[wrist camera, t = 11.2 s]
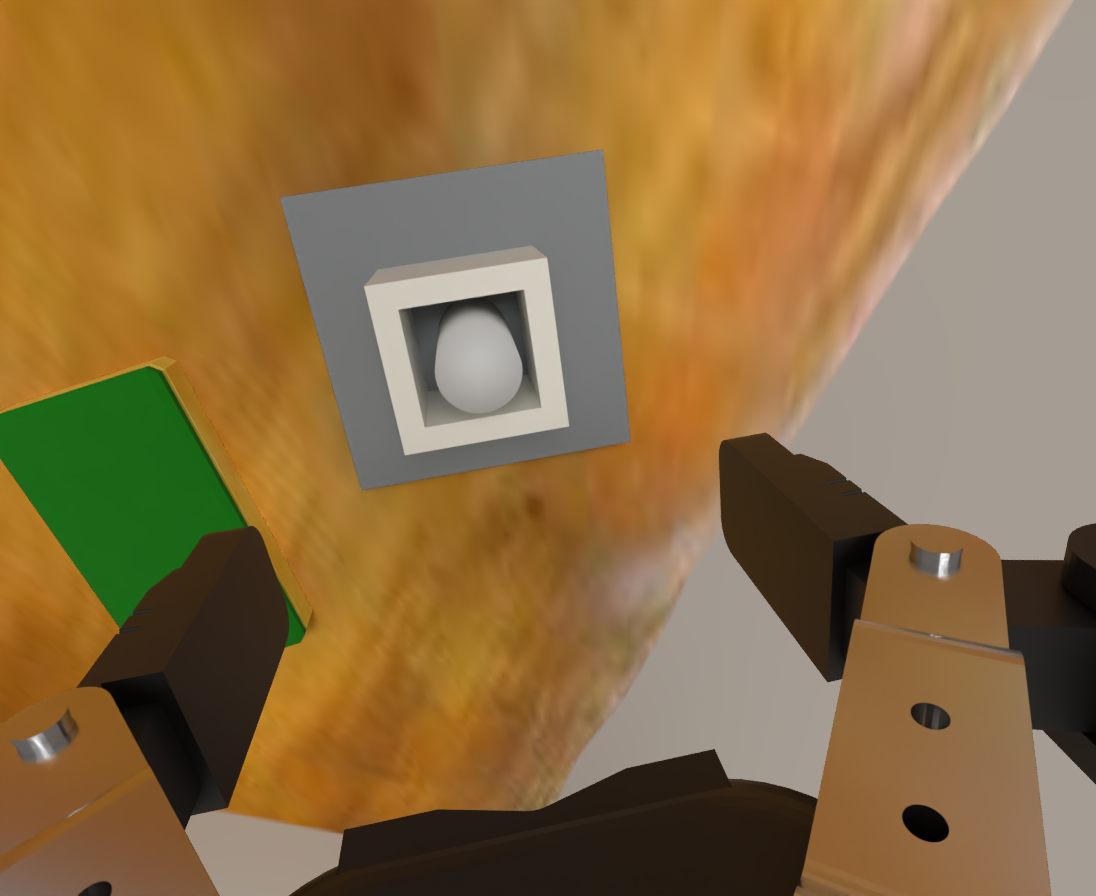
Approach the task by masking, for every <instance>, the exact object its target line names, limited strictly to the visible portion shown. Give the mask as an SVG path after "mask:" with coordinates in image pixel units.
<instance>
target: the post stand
mask: <svg viewBox="0 0 1096 896" xmlns="http://www.w3.org/2000/svg"><path fill="white" fill-rule="evenodd" d="M280 201H281V204H282V208H283V211H284V215H285V219H286V222H287V226H288V229H289V233H290V236H291V240H292V244H293V247H294V251H295V254H296V258H297V261H298V265H299V269H300V272H301V276H302V279H303V283H304V286H305V290H306V294H307V297H308V301H309V304H310V308H311V312H312V315H313V319H314V322H315V326H316V329H317V333H318V337H319V340H320V344H321V347H322V351H323V354H324V358H325V362H326V365H327V369H328V372H329V376H330V379H331V383H332V387H333V390H334V394H335V397H336V401H337V404H338V408H339V412H340V415H341V419H342V422H343V426H344V429H345V433H346V437H347V440H348V444H349V447H350V451H351V455H352V458H353V462H354V465H355V469H356V472H357V476H358V480H359V483H360V487H361V490H367V489H373V488H378V487H384V486H389V485H395V484H400V483H406V482H411V481H417V480H422V479H428V478H433V477H439V476H444V475H450V474H456V473H461V472H467V471H472V470H478V469H483V468H489V467H494V466H500V465H505V464H511V463H516V462H522V461H527V460H533V459H538V458H544V457H549V456H555V455H560V454H566V453H571V452H577V451H582V450H588V449H593V448H599V447H604V446H610V445H615V444H621V443H626V442H630V431H629V421H628V410H627V400H626V389H625V378H624V368H623V357H622V347H621V336H620V326H619V315H618V304H617V294H616V283H615V273H614V262H613V252H612V241H611V230H610V220H609V209H608V199H607V188H606V177H605V167H604V156H603V150H596V151H590V152H583V153H576V154H569V155H563V156H556V157H549V158H542V159H536V160H529V161H522V162H515V163H509V164H502V165H495V166H488V167H482V168H475V169H468V170H461V171H455V172H448V173H441V174H434V175H428V176H421V177H414V178H407V179H401V180H394V181H387V182H380V183H374V184H367V185H360V186H353V187H347V188H340V189H333V190H326V191H320V192H313V193H306V194H299V195H293V196H286V197H280ZM526 246H533V247H535V248H536V249H537V250H538V251H540V252H541V253H542V254H543V255H545V256H546V257H547V261H548V268H549V276H550V283H551V291H552V299H553V306H554V314H555V321H556V329H557V337H558V344H559V352H560V360H561V367H562V375H563V382H564V390H565V398H566V405H567V413H568V421H569V427H563V428H558V429H552V430H546V431H541V432H535V433H529V434H524V435H518V436H512V437H507V438H501V439H495V440H490V441H484V442H478V443H473V444H467V445H461V446H456V447H450V448H444V449H439V450H433V451H427V452H422V453H416V454H410V455H405V454H404V450H403V446H402V442H401V437H400V433H399V429H398V425H397V421H396V417H395V413H394V409H393V404H392V400H391V396H390V392H389V388H388V384H387V380H386V376H385V371H384V367H383V363H382V359H381V355H380V351H379V347H378V343H377V338H376V334H375V330H374V326H373V322H372V318H371V314H370V310H369V305H368V301H367V297H366V293H365V289H364V286H365V284H366V283H367V282H368V281H369V280H370V279H371V277H372V276H373V275H374V274H375V273H376V271H377V270H378V269H384V268H391V267H397V266H403V265H410V264H416V263H423V262H429V261H436V260H442V259H448V258H455V257H461V256H468V255H474V254H481V253H487V252H493V251H500V250H506V249H513V248H519V247H526ZM411 312H412V316H413V321H414V325H415V330H416V335H417V339H418V344H419V348H420V353H421V358H422V362H423V367H424V371H425V376H426V381H427V385H428V390H429V391H433V390H438V389H439V390H440V392H441V394H442V395H443V396H444V398H445V399H446V400H447V401H448V402H449V403H450V404H452V405H453V406H455V407H456V408H458V409H460V410H463V411H465V412H469V413H488V412H492V411H495V410H497V409H499V408H501V407H503V406H504V405H506V404H507V403H508V402H509V401H510V400H511V399H512V398H513V397H514V396H515V394H516V393H517V391H518V389H519V387H520V384H521V380H522V375H527V374H528V368H527V362H526V355H525V348H524V342H523V335H522V329H521V322H520V316H519V309H518V303H517V296H516V291H512V292H506V293H499V294H493V295H487V296H481V297H474V298H468V299H462V300H456V301H449V302H443V303H437V304H431V305H424V306H418V307H412V308H411Z"/></svg>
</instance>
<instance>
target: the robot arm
mask: <svg viewBox="0 0 1096 896" xmlns="http://www.w3.org/2000/svg"><path fill="white" fill-rule="evenodd" d="M719 471H720V499H721V522H722V529H723V533H724V537H725V540H726V543H727V545H728V548H729V550H730V552H731V553H732V555H733V556H734V558H735V559H736V560H737V562H738V563H739V564H740V566H741V567H742V568H743V570H744V571H745V572H746V574H747V575H748V576H749V578H750V579H751V580H752V582H753V583H754V584H755V586H756V587H757V588H758V590H759V591H760V592H761V594H762V595H763V596H764V598H765V599H766V600H767V602H768V603H769V604H770V606H771V607H772V609H773V610H774V611H775V612H776V614H777V615H778V616H779V618H780V619H781V621H782V622H783V623H784V625H785V626H786V627H787V628H788V630H789V631H790V633H791V634H792V635H793V637H794V638H795V639H796V641H797V642H798V643H799V645H800V646H801V647H802V649H803V650H804V651H805V653H806V654H807V655H808V657H809V658H810V659H811V661H812V662H813V663H814V665H815V666H816V667H817V669H818V670H819V671H820V673H821V674H822V676H823V677H824V678H825V679H826V681H827V682H831V681H835V680H839V679H842V683H841V688H840V693H839V698H838V703H837V707H836V712H835V717H834V722H833V727H832V732H831V738H830V742H829V747H828V752H827V756H826V761H825V767H824V771H823V776H822V781H821V786H820V791H819V796H818V799H816V798H814V797H812V796H809V795H807V794H804V793H801V792H798V791H795V790H792V789H789V788H786V787H782V786H777V785H773V784H769V783H765V782H757V781H750V780H742V779H728V778H727V775H726V773H725V771H724V769H723V767H722V765H721V762H720V760H719V758H718V756H717V754H716V752H715V749H713V750H708V751H704V752H700V753H695V754H690V755H686V756H681V757H677V758H672V759H668V760H663V761H658V762H654V763H649V764H644V765H640V766H635V767H631V768H626V769H624V770H622V771H620V772H618V773H616V774H614V775H611V776H610V777H608V778H605V779H603V780H601V781H599V782H597V783H595V784H593V785H591V786H589V787H587V788H584V789H582V790H580V791H578V792H576V793H574V794H572V795H570V796H568V797H565V798H563V799H561V800H559V801H557V802H555V803H553V804H551V805H549V806H547V807H544V808H542V809H539V810H534V811H487V810H433V811H429V812H424V813H420V814H415V815H410V816H406V817H401V818H397V819H392V820H388V821H383V822H378V823H374V824H369V825H365V826H360V827H355V828H351V829H346V830H344V834H343V840H342V846H341V852H340V859H339V865H338V866H337V867H335V868H333V869H331V870H329V871H327V872H325V873H323V874H321V875H320V876H318V877H316V878H315V879H313V880H311V881H310V882H308V883H306V884H305V885H303V886H302V887H300V888H299V889H297V890H296V891H295V892H293V893H292V894H291V895H289V896H1051V888H1050V879H1049V870H1048V861H1047V853H1046V844H1045V836H1044V827H1043V818H1042V810H1041V801H1040V793H1039V784H1038V775H1037V767H1036V758H1035V749H1034V741H1033V732H1032V729H1037V730H1043V731H1044V732H1045V733H1046V734H1047V735H1048V736H1049V737H1050V738H1051V739H1052V740H1053V741H1054V742H1055V743H1056V744H1057V745H1058V746H1059V747H1060V748H1061V749H1062V750H1063V751H1064V753H1066V755H1067V756H1068V757H1069V758H1070V759H1071V760H1072V761H1073V762H1074V763H1075V764H1076V765H1077V766H1078V767H1079V768H1080V769H1081V770H1082V771H1083V772H1084V773H1085V774H1086V775H1087V776H1088V777H1089V778H1090V779H1091V780H1092V781H1093V782H1094V783H1095V784H1096V524H1090V525H1086V526H1082V527H1080V528H1077V529H1076V530H1074V531H1073V532H1072V533H1071V534H1070V535H1069V539H1068V542H1067V547H1066V552H1065V557H1064V560H1001V559H1000V556H999V554H998V553H997V551H996V550H995V549H994V548H993V547H992V546H991V545H989V544H988V543H987V542H985V541H983V540H982V539H980V538H978V537H977V536H974V535H972V534H970V533H967V532H964V531H961V530H958V529H954V528H950V527H945V526H939V525H930V524H911V525H908V524H907V523H905V522H904V521H903V520H901V519H900V518H899V517H897V516H896V515H895V514H893V513H892V512H891V511H890V510H888V509H887V508H886V507H884V506H883V505H882V504H880V503H879V502H878V501H876V500H875V499H874V498H872V497H871V496H870V495H868V494H867V493H866V492H864V493H862V491H861V488H859V487H858V486H857V485H855V484H854V483H852V482H851V481H850V480H849V481H847V480H846V477H845V476H843V475H842V474H841V473H839V472H838V471H837V470H835V469H834V468H833V467H832V466H830V465H829V464H827V463H825V462H822V461H819V460H816V459H813V458H811V457H808V456H805V455H803V454H797V455H793V454H792V453H791V452H790V451H788V450H787V449H786V448H785V447H783V446H782V445H781V444H780V443H779V442H777V441H776V440H775V439H774V438H772V437H771V436H770V435H768V434H767V433H761V434H755V435H750V436H744V437H739V438H733V439H728V440H723V441H722V443H721V445H720V449H719ZM119 631H120V634H117V635H115V636H114V638H113V639H112V640H111V642H110V643H109V644H108V646H107V647H106V648H105V650H104V651H103V653H102V654H101V655H100V657H99V658H98V659H97V661H96V662H95V663H94V665H93V666H92V667H91V669H90V670H89V672H88V673H87V674H86V676H85V677H84V678H83V680H82V681H81V682H80V684H79V685H78V687H77V688H75V689H71V690H67V691H64V692H60V693H57V694H55V695H52V696H50V697H47V698H45V699H43V700H41V701H39V702H36V703H34V704H33V705H31V706H29V707H27V708H25V709H24V710H22V711H20V712H19V713H17V714H16V715H14V716H13V717H11V718H10V719H8V720H7V721H6V722H4V723H3V724H2V725H0V896H220V895H219V894H218V892H217V890H216V888H215V886H214V885H213V883H212V881H211V879H210V877H209V875H208V873H207V872H206V870H205V868H204V866H203V864H202V862H201V860H200V858H199V856H198V855H197V853H196V851H195V849H194V847H193V845H192V844H191V842H190V840H189V838H188V836H187V834H186V832H185V829H186V826H187V824H188V821H189V819H190V816H191V815H196V814H200V813H205V812H210V811H215V810H219V809H224V808H228V806H229V803H230V800H231V797H232V794H233V791H234V789H235V786H236V783H237V780H238V777H239V775H240V772H241V769H242V766H243V763H244V761H245V758H246V755H247V752H248V749H249V746H250V744H251V741H252V738H253V735H254V732H255V730H256V727H257V724H258V721H259V718H260V716H261V713H262V710H263V707H264V704H265V701H266V699H267V696H268V693H269V690H270V687H271V685H272V682H273V679H274V676H275V673H276V671H277V668H278V665H279V662H280V659H281V656H282V654H283V651H284V648H285V645H286V642H287V639H288V634H289V615H288V609H287V604H286V601H285V598H284V595H283V593H282V590H281V587H280V584H279V582H278V579H277V576H276V573H275V570H274V568H273V565H272V562H271V559H270V557H269V554H268V551H267V548H266V545H265V543H264V540H263V537H262V535H261V533H260V532H259V530H258V529H257V528H256V527H254V526H247V527H242V528H237V529H231V530H226V531H220V532H215V533H209V534H205V535H204V536H203V537H202V538H201V539H200V541H199V542H198V543H197V545H196V546H195V548H194V549H193V551H192V552H191V554H190V555H189V556H188V558H187V559H186V561H185V562H184V564H183V565H182V566H181V568H179V569H175V570H173V571H172V572H171V573H170V574H168V575H167V576H166V577H165V578H163V579H162V580H161V581H159V582H158V583H157V584H156V585H154V586H153V587H152V588H150V589H149V590H148V591H147V593H146V594H145V595H144V597H143V598H142V600H141V601H140V602H139V604H138V605H137V606H136V608H135V609H134V610H133V616H129V617H128V619H127V620H126V621H125V623H124V624H123V625H122V627H121V628H120V629H119Z"/></svg>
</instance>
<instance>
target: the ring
mask: <svg viewBox="0 0 1096 896" xmlns="http://www.w3.org/2000/svg"><path fill="white" fill-rule="evenodd" d="M364 289H365V293H366V297H367V301H368V305H369V310H370V314H371V318H372V322H373V326H374V330H375V334H376V338H377V343H378V347H379V351H380V355H381V359H382V363H383V367H384V371H385V376H386V380H387V384H388V388H389V392H390V396H391V400H392V404H393V409H394V413H395V417H396V421H397V425H398V429H399V433H400V437H401V442H402V446H403V450H404V454H405V455H410V454H416V453H422V452H427V451H433V450H439V449H444V448H450V447H456V446H461V445H467V444H473V443H478V442H484V441H490V440H495V439H501V438H507V437H512V436H518V435H524V434H529V433H535V432H541V431H546V430H552V429H558V428H563V427H569V421H568V413H567V405H566V398H565V390H564V382H563V375H562V367H561V360H560V352H559V344H558V337H557V329H556V321H555V314H554V306H553V299H552V291H551V283H550V276H549V268H548V261H547V257H546V256H545V255H543V254H542V253H541V252H540V251H538V250H537V249H536V248H535V247H533V246H526V247H519V248H513V249H506V250H500V251H493V252H487V253H481V254H474V255H468V256H461V257H455V258H448V259H442V260H436V261H429V262H423V263H416V264H410V265H403V266H397V267H391V268H384V269H378V270H377V271H376V273H375V274H374V275H373V276H372V277H371V279H370V280H369V281H368V282H367V283H366V284H365V286H364ZM512 291H516V296H517V303H518V309H519V316H520V322H521V329H522V335H523V342H524V348H525V355H526V362H527V368H528V374H527V375H522V380H521V384H520V387H519V389H518V391H517V393H516V394H515V396H514V397H513V398H512V399H511V400H510V401H509V402H508V403H507V404H506V405H504V406H503V407H501V408H499V409H497V410H495V411H492V412H488V413H469V412H465V411H463V410H460V409H458V408H456V407H455V406H453V405H452V404H450V403H449V402H448V401H447V400H446V399H445V398H444V396H443V395H442V394H441V392H440V390H439V389H438V390H433V391H429V390H428V385H427V381H426V376H425V371H424V367H423V362H422V358H421V353H420V348H419V344H418V339H417V335H416V330H415V325H414V321H413V316H412V312H411V308H412V307H418V306H424V305H431V304H437V303H443V302H449V301H456V300H462V299H468V298H474V297H481V296H487V295H493V294H499V293H506V292H512Z"/></svg>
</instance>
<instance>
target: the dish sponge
mask: <svg viewBox="0 0 1096 896" xmlns="http://www.w3.org/2000/svg"><path fill="white" fill-rule="evenodd" d="M0 459H1V460H2V462H3V463H4V465H5V466H6V467H7V469H8V470H9V472H10V473H11V475H12V476H13V477H14V479H15V480H16V482H17V483H18V484H19V486H20V487H21V489H22V490H23V492H24V493H25V494H26V496H27V497H28V499H29V500H30V501H31V503H32V504H33V506H34V507H35V509H36V510H37V511H38V513H39V514H40V516H41V517H42V518H43V520H44V521H45V523H46V524H47V526H48V527H49V528H50V530H51V531H52V533H53V534H54V536H55V537H56V538H57V540H58V541H59V543H60V544H61V545H62V547H63V548H64V550H65V551H66V553H67V554H68V555H69V557H70V558H71V560H72V561H73V562H74V564H75V565H76V567H77V568H78V570H79V571H80V572H81V574H82V575H83V577H84V578H85V580H86V581H87V582H88V584H89V585H90V587H91V588H92V589H93V591H94V592H95V594H96V595H97V597H98V598H99V599H100V601H101V602H102V604H103V605H104V606H105V608H106V609H107V611H108V612H109V614H110V615H111V616H112V618H113V619H114V621H115V622H116V623H117V625H118V626H119V628H121V627H122V625H123V624H124V623H125V621H126V620H127V619H128V617H129V616H133V610H134V609H135V608H136V606H137V605H138V604H139V602H140V601H141V600H142V598H143V597H144V595H145V594H146V593H147V591H148V590H149V589H150V588H152V587H153V586H154V585H156V584H157V583H158V582H159V581H161V580H162V579H163V578H165V577H166V576H167V575H168V574H170V573H171V572H172V571H173V570H175V569H179V568H181V566H182V565H183V564H184V562H185V561H186V559H187V558H188V556H189V555H190V554H191V552H192V551H193V549H194V548H195V546H196V545H197V543H198V542H199V541H200V539H201V538H202V537H203V536H204V535H205V534H209V533H215V532H220V531H226V530H231V529H237V528H242V527H247V526H254V527H256V528H257V529H258V530H259V532H260V533H261V535H262V537H263V540H264V543H265V545H266V548H267V551H268V554H269V557H270V559H271V562H272V565H273V568H274V570H275V573H276V576H277V579H278V582H279V584H280V587H281V590H282V593H283V595H284V598H285V601H286V604H287V609H288V615H289V634H288V639H287V642H286V645H285V647H288V646H291V645H294V644H297V643H300V642H301V641H302V639H303V637H304V635H305V632H306V628H307V626H308V623H309V620H310V617H311V614H312V611H313V609H312V607H311V605H310V604H309V602H308V600H307V598H306V596H305V594H304V593H303V591H302V589H301V587H300V585H299V583H298V582H297V580H296V578H295V576H294V574H293V572H292V571H291V569H290V567H289V565H288V563H287V561H286V560H285V558H284V556H283V554H282V552H281V550H280V548H279V547H278V545H277V543H276V541H275V539H274V537H273V536H272V534H271V532H270V530H269V528H268V526H267V525H266V523H265V521H264V519H263V517H262V515H261V514H260V512H259V510H258V508H257V506H256V504H255V503H254V501H253V499H252V497H251V495H250V493H249V492H248V490H247V488H246V486H245V484H244V482H243V481H242V479H241V477H240V475H239V473H238V471H237V470H236V468H235V466H234V464H233V462H232V460H231V459H230V457H229V455H228V453H227V451H226V449H225V447H224V446H223V444H222V442H221V440H220V438H219V436H218V435H217V433H216V431H215V429H214V427H213V425H212V424H211V422H210V420H209V418H208V416H207V414H206V413H205V411H204V409H203V407H202V405H201V403H200V402H199V400H198V398H197V396H196V394H195V392H194V391H193V389H192V387H191V385H190V383H189V381H188V380H187V378H186V376H185V374H184V372H183V370H182V369H181V367H180V365H179V363H178V361H176V360H174V359H172V358H169V357H167V356H163V357H160V358H157V359H154V360H150V361H147V362H144V363H141V364H138V365H135V366H132V367H129V368H125V369H122V370H119V371H116V372H113V373H110V374H107V375H104V376H101V377H97V378H94V379H91V380H88V381H85V382H82V383H79V384H76V385H73V386H69V387H66V388H63V389H60V390H57V391H54V392H51V393H48V394H45V395H41V396H38V397H35V398H32V399H29V400H26V401H23V402H20V403H17V404H14V405H12V406H10V407H8V408H6V409H4V410H2V411H0Z"/></svg>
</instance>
